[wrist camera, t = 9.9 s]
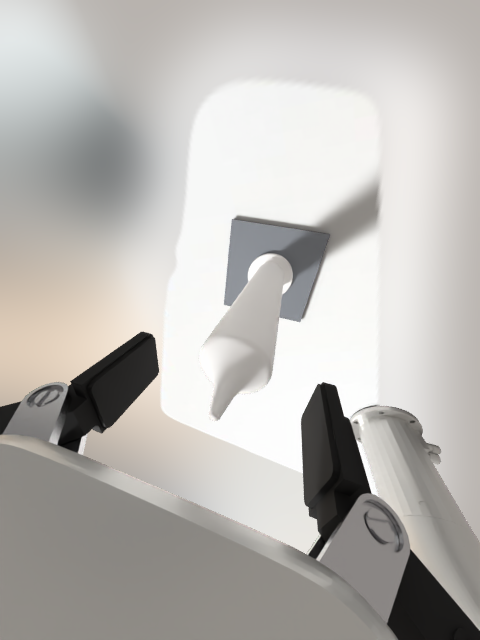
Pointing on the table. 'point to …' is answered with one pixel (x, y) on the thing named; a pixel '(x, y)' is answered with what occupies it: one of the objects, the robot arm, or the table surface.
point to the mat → (287, 242)
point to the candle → (246, 335)
